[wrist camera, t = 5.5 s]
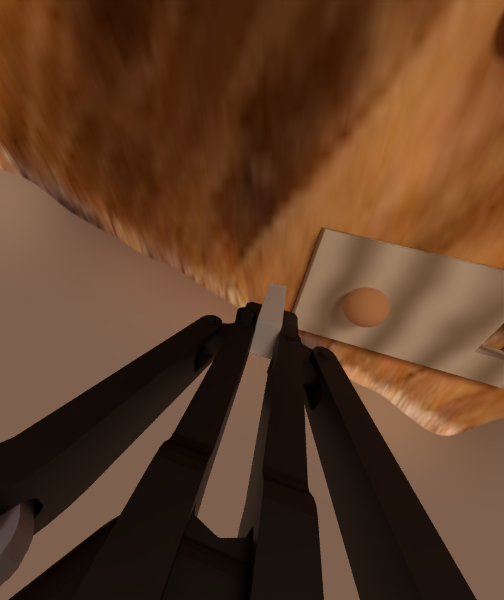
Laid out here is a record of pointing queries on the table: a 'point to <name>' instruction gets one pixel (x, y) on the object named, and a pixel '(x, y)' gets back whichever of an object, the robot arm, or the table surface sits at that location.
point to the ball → (366, 307)
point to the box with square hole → (407, 304)
